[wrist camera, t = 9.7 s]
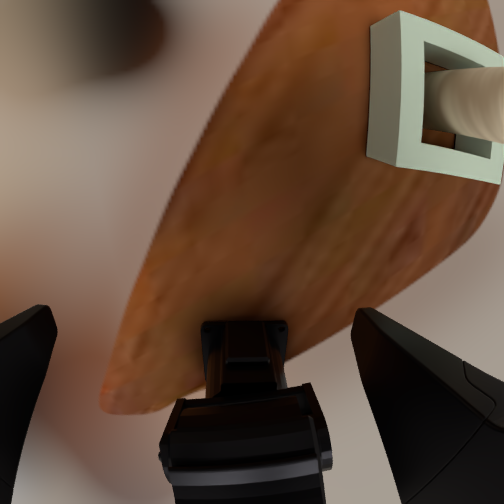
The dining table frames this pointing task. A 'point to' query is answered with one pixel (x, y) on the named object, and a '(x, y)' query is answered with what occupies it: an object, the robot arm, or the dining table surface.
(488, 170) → the socket
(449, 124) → the peg
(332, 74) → the dining table surface
